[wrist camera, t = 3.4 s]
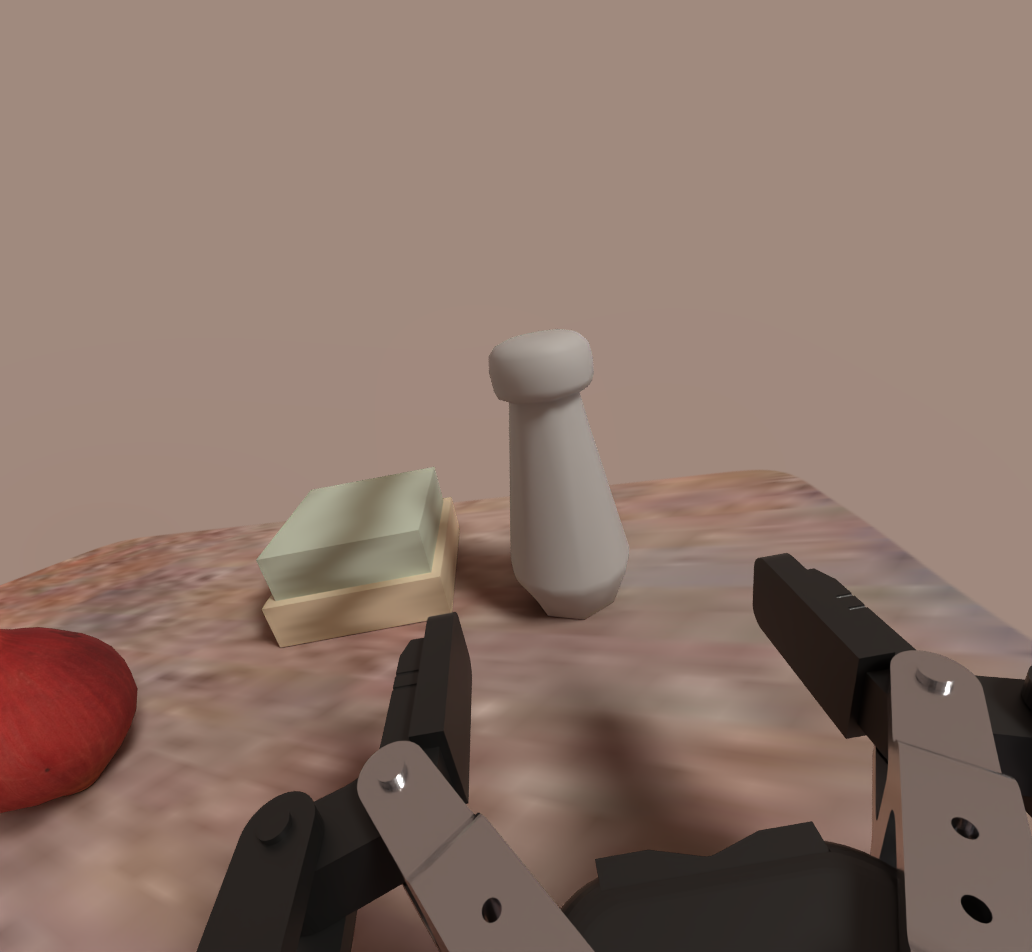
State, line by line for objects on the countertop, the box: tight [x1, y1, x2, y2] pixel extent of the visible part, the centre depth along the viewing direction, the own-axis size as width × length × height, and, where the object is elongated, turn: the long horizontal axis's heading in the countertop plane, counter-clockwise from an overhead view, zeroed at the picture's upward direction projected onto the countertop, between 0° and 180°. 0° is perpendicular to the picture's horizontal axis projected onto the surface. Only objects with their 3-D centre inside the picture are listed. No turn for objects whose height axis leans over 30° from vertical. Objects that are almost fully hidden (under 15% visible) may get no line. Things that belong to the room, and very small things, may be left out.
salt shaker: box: [489, 329, 629, 620], centre depth 22 cm, size 6×6×13 cm
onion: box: [0, 627, 137, 813], centre depth 17 cm, size 6×6×8 cm
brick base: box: [256, 467, 460, 648], centre depth 28 cm, size 9×9×5 cm
